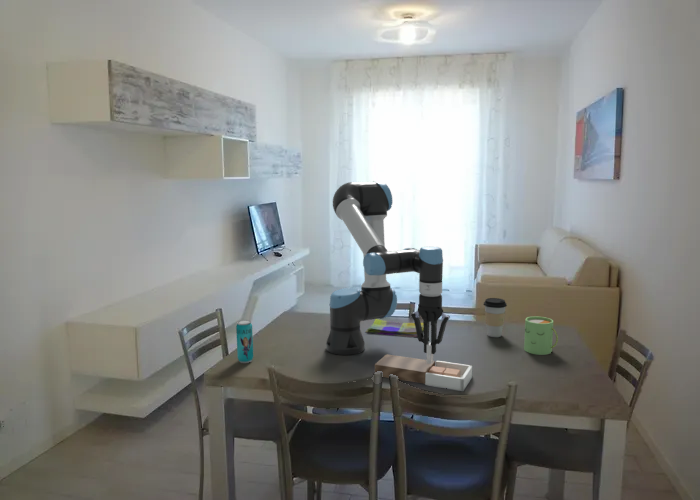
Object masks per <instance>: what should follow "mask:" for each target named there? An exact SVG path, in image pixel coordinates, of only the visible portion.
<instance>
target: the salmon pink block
mask: <svg viewBox="0 0 700 500" xmlns="http://www.w3.org/2000/svg"><path fill="white" fill-rule="evenodd" d="M445 370H446V368H443V367H436V365H435V366H432V367H431V369H430V370H429V373H434V374H440V375H443V372H444V371H445Z"/></svg>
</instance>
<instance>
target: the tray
mask: <svg viewBox="0 0 700 500" xmlns="http://www.w3.org/2000/svg"><path fill="white" fill-rule="evenodd" d="M435 366H436V367H443V368H446V369H447V368H451V369H458V370H460V377H453V376H447V375H440V374H434V373H427V372H426V377H425V384H424V385H425V386H430V387H435V388H439V389H441V388H442V389H446V388H447V390H452V391H459V392H464V391H465V389H466V388H467V386H468V385H469V383H470V382H471V380H472V379H473V372H474V370H473V368H474V366H473V365H472V364H471V365H470V364H463V363H456V362H449V361H444V360H436V361H435Z"/></svg>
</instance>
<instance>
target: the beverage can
mask: <svg viewBox="0 0 700 500" xmlns="http://www.w3.org/2000/svg"><path fill="white" fill-rule="evenodd" d="M235 329H236V330H235V331H236V350H237V351H236V352H237V359H238V362H239V363H240V364H250V363H252V362H253V358H254V337H253V336H254V334H253V323H252V320H248V319H243V320H242V319H241V320H238V321H237V322H236V327H235ZM249 362H250V363H249Z"/></svg>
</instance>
